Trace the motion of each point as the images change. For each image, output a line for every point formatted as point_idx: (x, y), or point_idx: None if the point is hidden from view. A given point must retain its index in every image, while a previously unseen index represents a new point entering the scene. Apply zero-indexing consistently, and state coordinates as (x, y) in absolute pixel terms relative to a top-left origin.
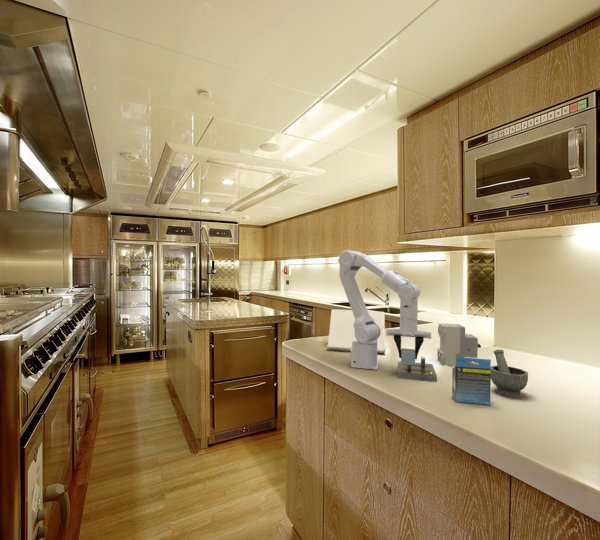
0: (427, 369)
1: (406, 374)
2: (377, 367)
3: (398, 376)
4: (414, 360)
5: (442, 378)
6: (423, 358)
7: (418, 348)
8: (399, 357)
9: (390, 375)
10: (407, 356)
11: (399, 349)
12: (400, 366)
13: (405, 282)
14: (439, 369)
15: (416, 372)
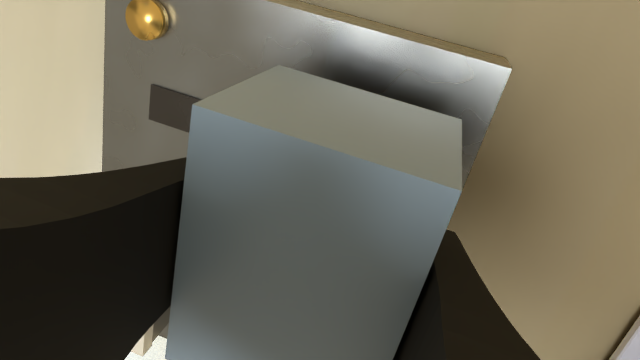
0: None
1: (414, 38)
2: (631, 343)
3: (502, 59)
4: (263, 79)
5: (88, 73)
6: None
7: (75, 184)
8: (455, 234)
9: (563, 136)
10: (355, 124)
11: (470, 297)
12: None
13: None
14: None
15: (291, 54)
